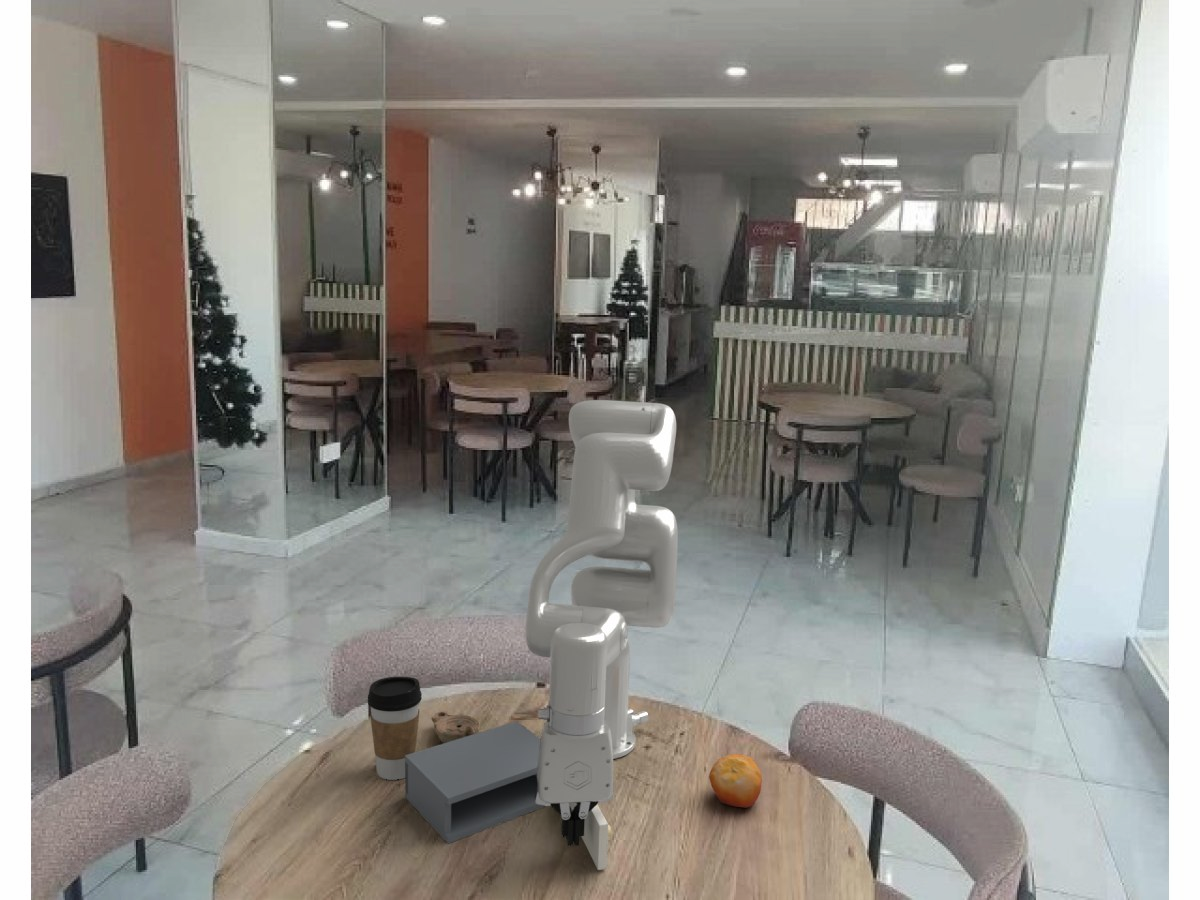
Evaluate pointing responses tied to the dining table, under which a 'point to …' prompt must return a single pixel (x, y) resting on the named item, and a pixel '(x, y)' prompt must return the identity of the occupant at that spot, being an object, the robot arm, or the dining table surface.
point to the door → (596, 836)
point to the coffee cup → (394, 723)
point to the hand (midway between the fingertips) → (572, 839)
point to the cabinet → (475, 780)
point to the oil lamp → (454, 726)
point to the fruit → (736, 780)
